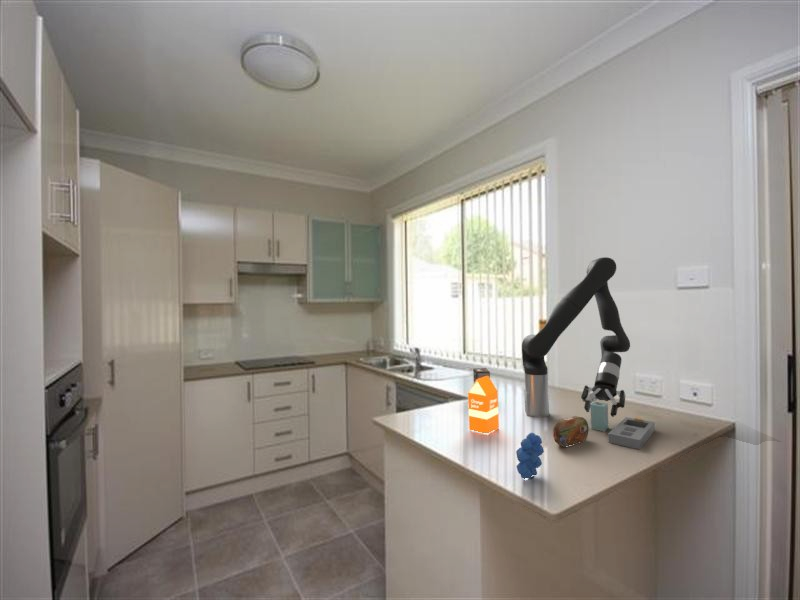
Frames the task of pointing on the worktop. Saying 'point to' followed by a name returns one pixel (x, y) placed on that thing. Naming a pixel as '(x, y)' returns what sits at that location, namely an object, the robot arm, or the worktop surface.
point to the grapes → (529, 455)
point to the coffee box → (480, 373)
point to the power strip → (631, 432)
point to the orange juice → (483, 406)
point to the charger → (599, 416)
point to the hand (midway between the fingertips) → (599, 413)
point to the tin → (570, 431)
